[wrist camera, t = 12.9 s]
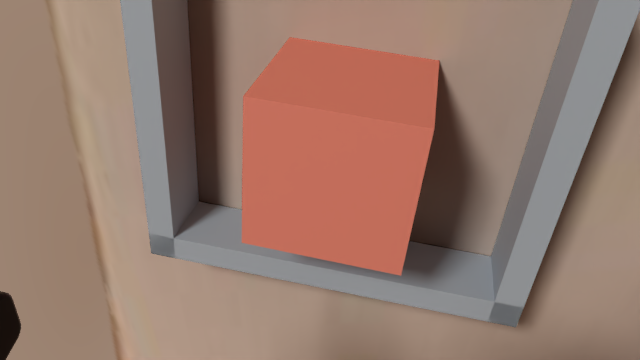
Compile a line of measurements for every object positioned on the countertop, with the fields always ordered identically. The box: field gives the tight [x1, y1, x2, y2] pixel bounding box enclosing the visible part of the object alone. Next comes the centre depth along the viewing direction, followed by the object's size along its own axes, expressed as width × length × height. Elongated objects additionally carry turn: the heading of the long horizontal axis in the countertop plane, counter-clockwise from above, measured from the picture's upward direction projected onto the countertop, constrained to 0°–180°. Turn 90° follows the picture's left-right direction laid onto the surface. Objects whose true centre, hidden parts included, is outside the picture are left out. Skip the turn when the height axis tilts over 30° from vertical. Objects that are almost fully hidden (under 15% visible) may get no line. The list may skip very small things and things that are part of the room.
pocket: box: [120, 0, 640, 327], centre depth 19 cm, size 14×12×2 cm
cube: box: [242, 37, 439, 276], centre depth 18 cm, size 5×5×5 cm
